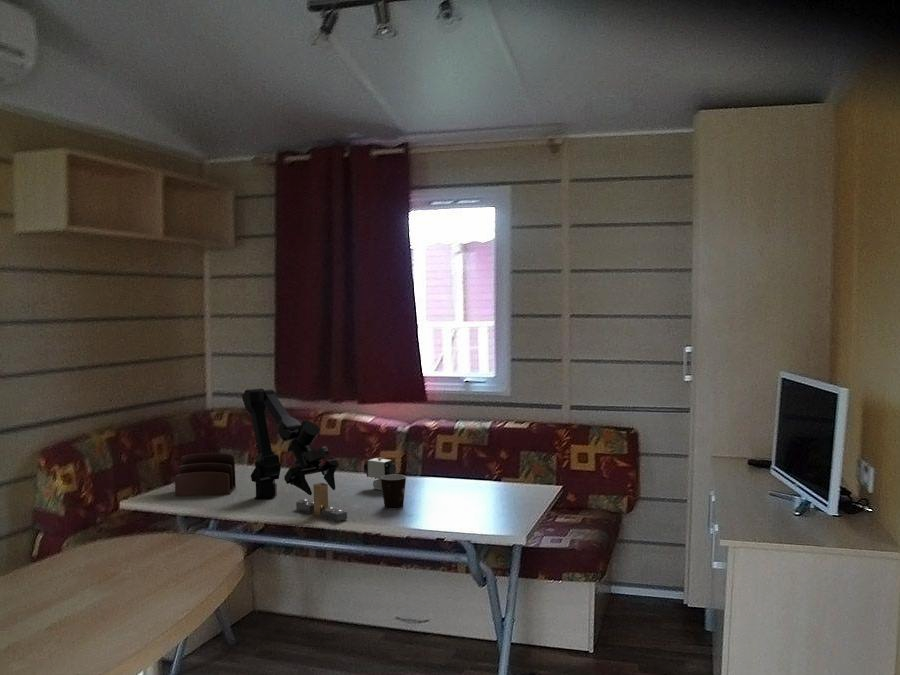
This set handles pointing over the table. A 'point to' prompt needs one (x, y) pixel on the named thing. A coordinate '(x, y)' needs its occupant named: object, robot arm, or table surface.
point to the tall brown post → (320, 498)
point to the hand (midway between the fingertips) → (323, 491)
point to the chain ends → (327, 513)
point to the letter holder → (206, 475)
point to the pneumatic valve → (379, 470)
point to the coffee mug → (393, 490)
